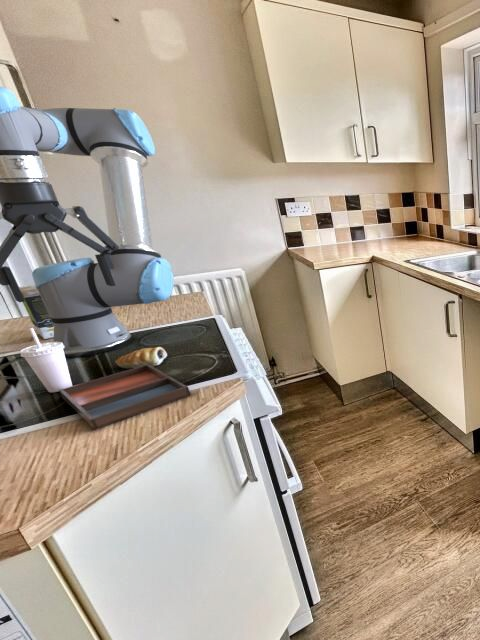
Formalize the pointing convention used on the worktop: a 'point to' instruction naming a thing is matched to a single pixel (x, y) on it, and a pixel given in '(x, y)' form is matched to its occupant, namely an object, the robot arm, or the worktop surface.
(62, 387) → the smoothie
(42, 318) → the tea box
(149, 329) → the worktop surface
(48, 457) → the worktop surface
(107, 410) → the sorting tray
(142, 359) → the pastry
